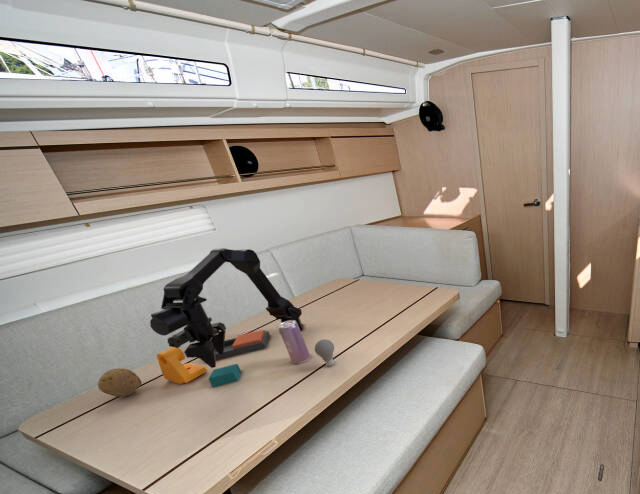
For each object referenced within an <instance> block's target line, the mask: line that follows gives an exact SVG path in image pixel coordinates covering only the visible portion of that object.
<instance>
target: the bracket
mask: <svg viewBox="0 0 640 494" xmlns="http://www.w3.org/2000/svg"><path fill="white" fill-rule="evenodd" d="M156 359H157V361H158V365H159V367H160V371H161V373H162V376H163V378H164V379H165V380H167V381H170V382H171V383H175V384H179V385H183V384H187V383H189V382H191V381H192V380H194V379H196V378H198V377H200V376H202V375H203V374H205V373H206V372H207V371H208V370H207V368H206V366H205V365H201V364H195V363H194V364H193V363H186V362H185V363H183V364H182V361H183V360H185V359H186V355H185V353H184V352H183V350H182V349H180V347H179V348H176V347H170V348H168V349H165V350H163V351H161V352H159V353H157V354H156Z"/></svg>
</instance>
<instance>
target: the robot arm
mask: <svg viewBox="0 0 640 494" xmlns="http://www.w3.org/2000/svg"><path fill="white" fill-rule="evenodd" d="M225 263H230V264H231V265H232V266H233V267H234V268H235V269H236V270H238V271H240V272H242V273H244V275H246V276H247V277H248V279H249V280H250V281H251V282H252V284H253V285H254V286H255V288H256V289H257V290H258V291H259V293H260V294H261V296H263V298H264V299H265V300H266V302H267V307H266V308H265V310H266V311H267V312H268V313H269V316H272V317H274V318H275V319H276V320H280V324H281V323H283V322H285V321H289V320H295V321H296V322H297V323H298V326H299V328H300V331H301V332H302V331H303V329H304V327H303V326H304V323H302V321H301V316H302V315H303V312H302V309H300V308H298V307H296V306H294V304H293V303H292V302H291V301H290V300H289V299H287V298H285V297H283V296H282V295H280V293H279V292H278V290H277V289H276V288H275V286H274V285H273V284H272V282H271V281H270V279H269V278H268V277H267V275H266V274H265V273H264V271H263V270H262V269H261V260H260V258H259V256H258V254H257V253H256V251H254V249H251V248H250V249H228V248H225V247H223V248H213V249H212V250H210V251H209V253H208V254H207V255H206V256H205V257H204V258H203V259H202V260H201V261H199V262H198V263H197V264H196V265H195V266H194V267H193V268H192V269H190V271H188V273H186V274H184V275H182V276H180V277H177V278H174V279H173V280H171V281H170V282H168V283H167V284H165V285H164V286H163V297H162V302H161V306H160V307H161V310H160V311H157V312H153V313H151V314H150V317H151V319H150V321H149V323H150V324H149V326H150V328H151V329H152V331H153V332H154V333H156V334H157V335H159V336H168V335H170V334H172V333H174V332H176V331H178V330H179V329H181V328H183V329H182V330H181V331H179V332H177V333H175V334H173V335H172V336H169V337H168V338H167V342H166V343H167V344H168V347H170V348H171V347H176V348H179V349H180V347H181V346H182V345H184V344H186V343H189V345H188V346H187V347H186V348H185V350H184V352H183V353H184V355H185V358H191V359H194V358H196V359H200V360H201V361H202V362H204V364H206V365H207V366H208V367H210V368H211V369H214V368H216V367H217V360H216V357H215V350H216V351H217V352H218V353H219V354H220V355H221V354H223V353H224V341H225V340H226V330H227V327H226V325H225V323H223V322H221V321H219V322H215V323H211V322H212V321H213V319H212V317H210V316H209V317H208V315H207V313H206V311H205V309H204V307H203V305H202V303H204V302H206V301H208V300H207V298H206V297H203V296H200V295H201V293H202V292H203V290H204V284H205V282H206V281H208V280H209V278H211V277H212V276H213V275H214V273H216V272H217V271H218V270H219V269H220V268H221V267H222V266H223V265H224V264H225Z"/></svg>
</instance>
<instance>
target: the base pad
mask: <svg viewBox="0 0 640 494" xmlns="http://www.w3.org/2000/svg"><path fill="white" fill-rule="evenodd" d="M265 331H266V330H265V329H260V330H256V331H252V332H248V333H242V334H239V335H237V336H236V337H235V338H236V340H235V342H234V343H233V345H232V347H233V349H235V348H239V347H244V346H248V345H252V344H256V343H260V342H262V339H263V337H264V334H265Z"/></svg>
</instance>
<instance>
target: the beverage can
mask: <svg viewBox="0 0 640 494" xmlns="http://www.w3.org/2000/svg"><path fill="white" fill-rule="evenodd" d="M277 327H278V331H279V334H280V336H281V338H282V341H283V344H284V346H285V349H286V351H287V353H288V356H289V358H290V360H291V362H292V363H293V364H302V363H304V362H307V361H308V360H309V359H310V358H311V357H310V356H311V354H310V352H309V350H308V347H307V344H306V341H305V338H304V336H303V334H302V331H300V328H299V326H298V323H297V322H296V321H295V320H289V321H285V322H283V323H281V322H280V323H279V324H278V325H277Z"/></svg>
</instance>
